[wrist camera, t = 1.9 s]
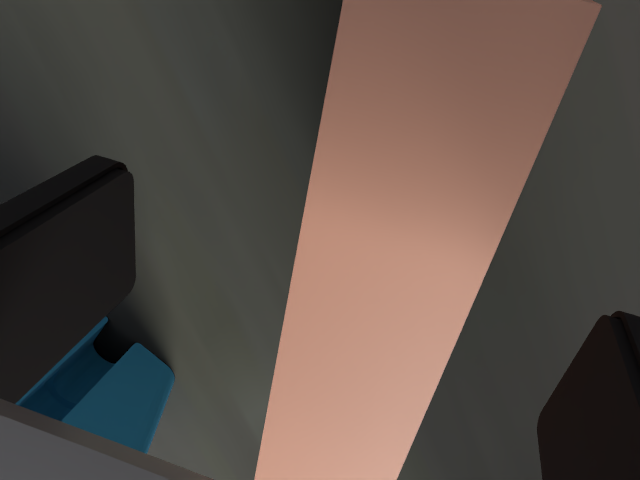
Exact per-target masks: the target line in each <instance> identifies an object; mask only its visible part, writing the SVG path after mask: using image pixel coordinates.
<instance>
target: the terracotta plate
mask: <svg viewBox="0 0 640 480" xmlns="http://www.w3.org/2000/svg"><path fill="white" fill-rule="evenodd" d="M601 7H602V5H600V4H598V3H596V2H594V1H592V0H343V4H342V9H341V14H340V20H339V25H338V31H337V36H336V41H335V47H334V52H333V58H332V63H331V69H330V74H329V79H328V85H327V90H326V96H325V101H324V106H323V112H322V117H321V123H320V128H319V133H318V139H317V144H316V150H315V155H314V160H313V166H312V171H311V177H310V182H309V187H308V193H307V198H306V204H305V209H304V215H303V220H302V225H301V231H300V236H299V242H298V247H297V252H296V258H295V263H294V269H293V274H292V279H291V285H290V290H289V296H288V301H287V306H286V312H285V317H284V323H283V328H282V334H281V339H280V344H279V350H278V355H277V361H276V366H275V371H274V377H273V382H272V388H271V393H270V398H269V404H268V409H267V415H266V420H265V425H264V431H263V436H262V442H261V447H260V452H259V458H258V463H257V469H256V474H255V480H396V479H397V477H398V475H399V473H400V470H401V468H402V466H403V463H404V461H405V459H406V456H407V454H408V452H409V449H410V447H411V445H412V443H413V440H414V438H415V436H416V433H417V431H418V429H419V426H420V424H421V422H422V420H423V417H424V415H425V413H426V410H427V408H428V406H429V403H430V401H431V399H432V396H433V394H434V392H435V390H436V387H437V385H438V383H439V380H440V378H441V376H442V373H443V371H444V369H445V366H446V364H447V362H448V360H449V357H450V355H451V353H452V350H453V348H454V346H455V343H456V341H457V339H458V336H459V334H460V332H461V330H462V327H463V325H464V323H465V320H466V318H467V316H468V313H469V311H470V309H471V306H472V304H473V302H474V300H475V297H476V295H477V293H478V290H479V288H480V286H481V283H482V281H483V279H484V276H485V274H486V272H487V270H488V267H489V265H490V263H491V260H492V258H493V256H494V253H495V251H496V249H497V247H498V244H499V242H500V240H501V237H502V235H503V233H504V230H505V228H506V226H507V223H508V221H509V219H510V217H511V214H512V212H513V210H514V207H515V205H516V203H517V200H518V198H519V196H520V193H521V191H522V189H523V187H524V184H525V182H526V180H527V177H528V175H529V173H530V170H531V168H532V166H533V163H534V161H535V159H536V157H537V154H538V152H539V150H540V147H541V145H542V143H543V140H544V138H545V136H546V133H547V131H548V129H549V127H550V124H551V122H552V120H553V117H554V115H555V113H556V110H557V108H558V106H559V103H560V101H561V99H562V97H563V94H564V92H565V90H566V87H567V85H568V83H569V80H570V78H571V76H572V74H573V71H574V69H575V67H576V64H577V62H578V60H579V57H580V55H581V53H582V50H583V48H584V46H585V44H586V41H587V39H588V37H589V34H590V32H591V30H592V27H593V25H594V23H595V20H596V18H597V16H598V14H599V11H600V9H601Z"/></svg>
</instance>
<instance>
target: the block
mask: <svg viewBox="0 0 640 480" xmlns="http://www.w3.org/2000/svg"><path fill="white" fill-rule="evenodd" d="M107 321H108V318H107V317H106V316H105V317H104V318H103V319H102V320H101V321H100V322H99V323H98V324H97V325H96V326H95V327H94V328H93V329H92V330H91V331H90V332H89V333H88V334H87V335H86V336H85V337H84V338H83V339H82V340H81V341H80V342H79V343H78V344H77V345H75V346H74V347H73V348H72V349H71V350H70V351H69V352H68V353H67V354H66V355H65V356H64V357H63V358H62V359H61V360H60V361H59V362H58V363H57V364H56V365H55V366H54V367H53V368H52V369H51V370H50V371H49V372H48V373H47V374H46V375H45V376H44V377H43V378H42V379H41V380H40V381H39V382H37V383H36V384H35V385H34V386H33V387H32V388H31V389H30V390H29V391H28V392H27V393H26V394H25V395H24V396H23V397H22V398H21V399H20V400H19V401H18V402H17V403H15V404H16V405H18V406H21V407H24V408H26V409H29V410H32V411H34V412H37V413H40V414H42V415H45V416H48V417H50V418H53V419H56V420H58V421H61V422H64V423H66V424H69V425H72V426H74V427H77V428H80V429H82V430H85V431H87V432H90V433H93V434H95V435H98V436H101V437H103V438H106V439H109V440H111V441H114V442H117V443H119V444H122V445H125V446H127V447H130V448H132V449H135V450H138V451H140V452H143V453H146V454H147V452H148V450H149V447H150V444H151V442H152V439H153V436H154V434H155V431H156V428H157V426H158V423H159V421H160V418H161V415H162V413H163V410H164V407H165V405H166V402H167V399H168V397H169V394H170V391H171V389H172V386H173V383H174V380H175V377H174V374H173V372H172V370H171V369H170V368H169V367H168V366H167V365H166V364H165V363H164V362H162V361H161V360H160V359H159V358H157V357H156V356H155V355H154V354H152V353H151V352H150V351H149V350H147V349H146V348H145V347H144V346H142V345H141V344H140V343H135V344H134V345H133V346H132V347H131V348H130V349H129V350H128V351H127V352H126V353H125V354H124V355H123V356H122V357H121V358H120V359H119V361H118V362H117V363H116V364H113V363H110V362H108V361H106V360H104V359H103V358H102V357H100V356H99V354H98V353H97V352H96V350H95V349H94V345H93V342H94V340H95V339H96V337H97V336H98V334H99V333H100V331H101V330H102V329H103V327H104V326H105V324H106V323H107Z"/></svg>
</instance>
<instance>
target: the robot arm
mask: <svg viewBox="0 0 640 480" xmlns="http://www.w3.org/2000/svg"><path fill="white" fill-rule="evenodd" d="M135 278H136V267H135V222H134V180H133V176H132V174H131V173H130V172H128V170H127V168H126V165H125V164H123V163H121V162H118V161H115V160H111V159H108V158H105V157H101V156H97V155H95V156H92V157H90V158H88V159H86V160H84V161H82V162H80V163H79V164H77V165H75V166H73V167H71V168H69V169H67V170H65V171H64V172H62V173H60V174H58V175H56V176H54V177H52V178H50V179H48V180H47V181H45V182H43V183H41V184H39V185H37V186H35V187H33V188H32V189H30V190H28V191H26V192H24V193H22V194H20V195H18V196H16V197H15V198H13V199H11V200H9V201H7V202H5V203H3V204H1V205H0V480H214V479H211V478H208V477H206V476H203V475H200V474H198V473H195V472H193V471H190V470H187V469H185V468H182V467H180V466H177V465H174V464H172V463H169V462H166V461H164V460H161V459H159V458H156V457H153V456H151V455H148V454H146V453H143V452H140V451H138V450H135V449H132V448H130V447H127V446H125V445H122V444H119V443H117V442H114V441H111V440H109V439H106V438H103V437H101V436H98V435H95V434H93V433H90V432H87V431H85V430H82V429H80V428H77V427H74V426H72V425H69V424H66V423H64V422H61V421H58V420H56V419H53V418H50V417H48V416H45V415H42V414H40V413H37V412H34V411H32V410H29V409H26V408H24V407H21V406H18V405H16V404H15V403H17V402H18V401H19V400H20V399H21V398H22V397H23V396H24V395H25V394H26V393H27V392H28V391H29V390H30V389H31V388H32V387H33V386H34V385H35V384H36V383H37V382H39V381H40V380H41V379H42V378H43V377H44V376H45V375H46V374H47V373H48V372H49V371H50V370H51V369H52V368H53V367H54V366H55V365H56V364H57V363H58V362H59V361H60V360H61V359H62V358H63V357H64V356H65V355H66V354H67V353H68V352H69V351H70V350H71V349H72V348H73V347H74V346H75V345H77V344H78V343H79V342H80V341H81V340H82V339H83V338H84V337H85V336H86V335H87V334H88V333H89V332H90V331H91V330H92V329H93V328H94V327H95V326H96V325H97V324H98V323H99V322H100V321H101V320H102V319H103V318H104V317H105V316H106V315H107V314H108V313H109V312H110V311H111V310H112V309H113V308H115V307H116V306H117V305H118V304H119V303H120V302H121V301H122V300H123V299H124V298H125V297H126V296H127V295H128V294H129V293H130V291H131V290H132V288H133V286H134V283H135ZM537 435H538V444H539V452H540V461H541V470H542V479H543V480H640V317H639V316H635V315H632V314H629V313H625V312H622V311H616V312H615V313H613V314H612V315H611V316H607V315H603V316H601V317H600V318H599V319H598V321H597V322H596V324H595V326H594V327H593V329H592V330H591V332H590V334H589V335H588V337H587V338H586V340H585V342H584V343H583V345H582V347H581V348H580V350H579V351H578V353H577V355H576V356H575V358H574V359H573V361H572V363H571V364H570V366H569V368H568V369H567V371H566V372H565V374H564V376H563V377H562V379H561V380H560V382H559V384H558V385H557V387H556V389H555V390H554V392H553V393H552V395H551V397H550V398H549V400H548V401H547V403H546V405H545V406H544V408H543V410H542V411H541V413H540V416H539V419H538V424H537Z"/></svg>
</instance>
